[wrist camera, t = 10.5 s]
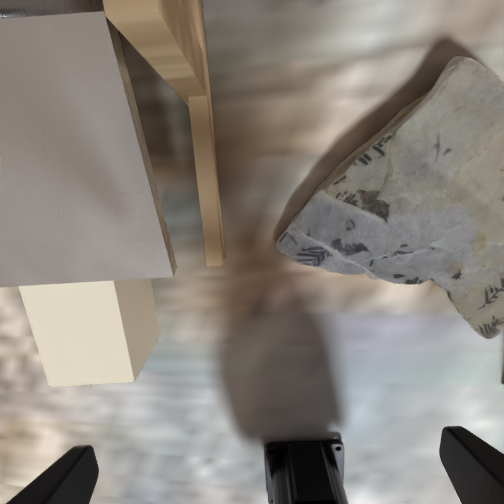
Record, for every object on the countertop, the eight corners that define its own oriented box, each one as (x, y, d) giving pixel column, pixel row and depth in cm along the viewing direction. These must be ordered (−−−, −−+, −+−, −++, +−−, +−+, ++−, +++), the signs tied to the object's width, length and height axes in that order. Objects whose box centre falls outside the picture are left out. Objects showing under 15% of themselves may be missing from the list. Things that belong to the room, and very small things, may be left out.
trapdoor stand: (225, 256, 19) (199, 337, 10) (-1, 270, 20) (-244, 362, 10) (200, -17, 15) (115, -340, 6) (-85, 4, 16) (-629, -272, 6)
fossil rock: (611, 204, 19) (660, 209, 17) (452, 361, 23) (475, 383, 20) (419, 35, 16) (446, 13, 14) (272, 242, 20) (275, 252, 18)
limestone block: (145, 244, 19) (160, 334, 21) (73, 248, 19) (94, 338, 21) (110, 267, 15) (134, 381, 16) (14, 273, 15) (49, 386, 16)
